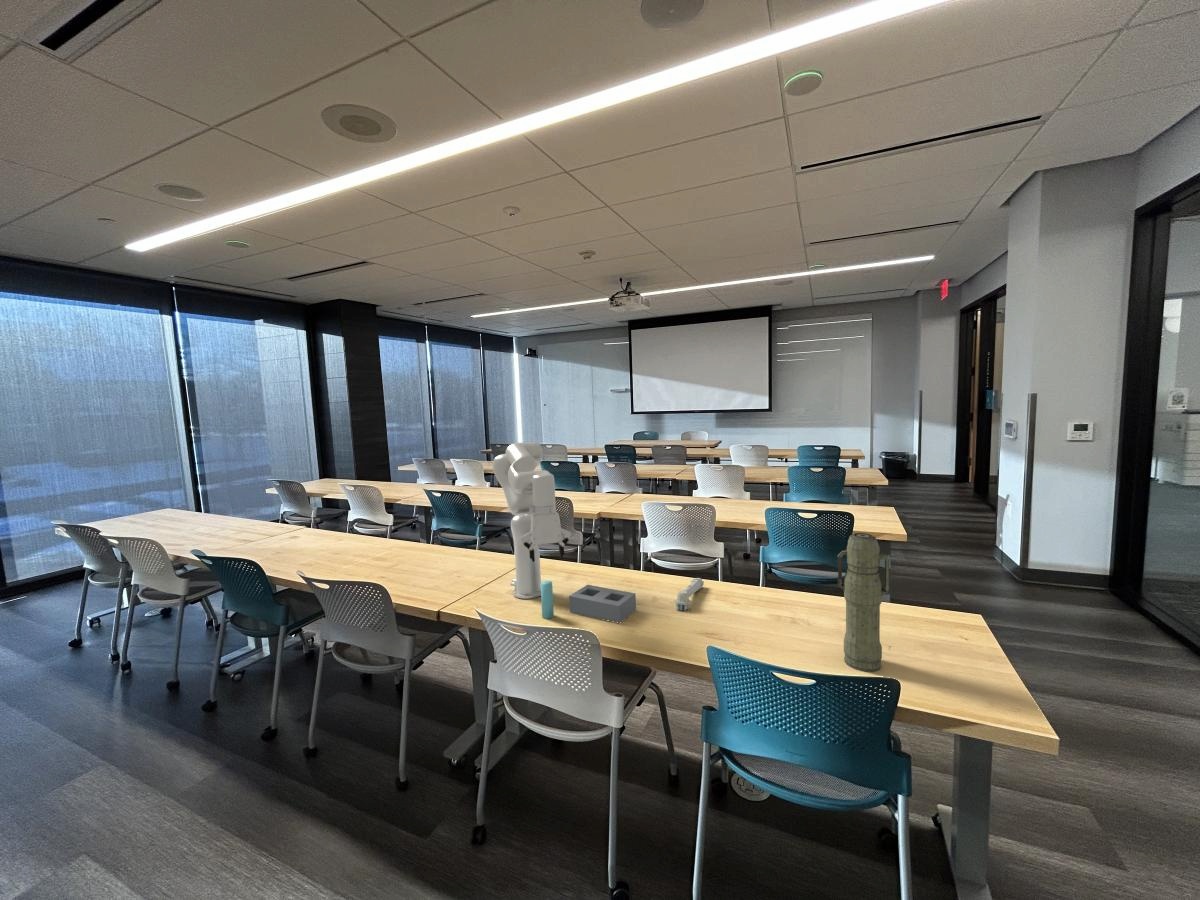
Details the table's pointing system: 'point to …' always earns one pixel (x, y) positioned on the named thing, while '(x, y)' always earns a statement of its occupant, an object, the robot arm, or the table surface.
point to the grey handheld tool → (688, 594)
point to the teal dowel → (547, 599)
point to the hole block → (602, 603)
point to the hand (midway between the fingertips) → (547, 558)
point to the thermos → (863, 601)
